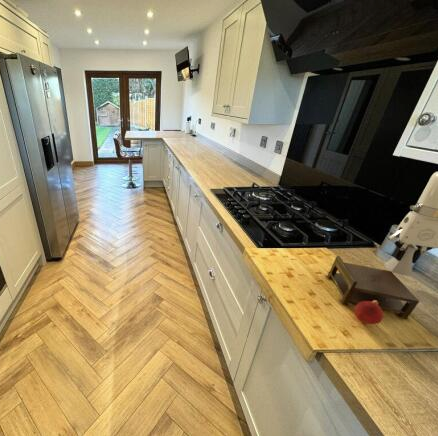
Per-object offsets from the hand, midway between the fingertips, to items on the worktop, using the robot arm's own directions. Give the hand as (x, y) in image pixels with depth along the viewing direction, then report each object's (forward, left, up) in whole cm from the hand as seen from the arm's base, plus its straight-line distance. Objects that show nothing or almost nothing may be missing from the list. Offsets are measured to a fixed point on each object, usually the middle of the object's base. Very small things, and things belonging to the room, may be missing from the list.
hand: (403, 259), depth 81 cm
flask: (0, 0, -5) cm, 5 cm away
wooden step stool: (+15, +15, -8) cm, 22 cm away
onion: (+20, +28, -9) cm, 35 cm away
